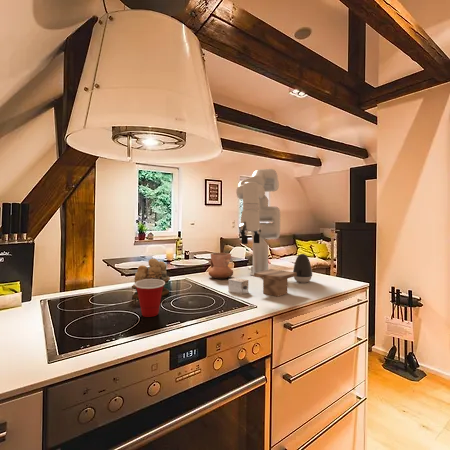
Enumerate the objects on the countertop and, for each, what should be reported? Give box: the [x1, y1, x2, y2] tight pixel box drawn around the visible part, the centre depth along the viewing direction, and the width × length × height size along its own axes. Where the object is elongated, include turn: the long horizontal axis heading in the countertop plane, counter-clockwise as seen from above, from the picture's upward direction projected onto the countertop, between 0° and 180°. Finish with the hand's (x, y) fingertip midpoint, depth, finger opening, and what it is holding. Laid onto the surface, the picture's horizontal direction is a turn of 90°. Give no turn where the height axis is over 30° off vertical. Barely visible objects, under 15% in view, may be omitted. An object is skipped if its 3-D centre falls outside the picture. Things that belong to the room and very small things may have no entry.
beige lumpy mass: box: [131, 258, 171, 301], centre depth 129 cm, size 18×12×17 cm, turn 130°
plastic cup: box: [134, 279, 166, 318], centre depth 104 cm, size 11×11×12 cm
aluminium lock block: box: [227, 277, 249, 295], centre depth 134 cm, size 9×5×6 cm, turn 47°
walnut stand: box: [253, 268, 297, 297], centre depth 132 cm, size 14×14×10 cm
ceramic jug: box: [208, 252, 234, 280], centre depth 167 cm, size 18×14×14 cm
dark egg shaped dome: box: [292, 253, 313, 284], centre depth 155 cm, size 10×10×15 cm
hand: (250, 243), depth 137 cm, fingers open, 9 cm apart
